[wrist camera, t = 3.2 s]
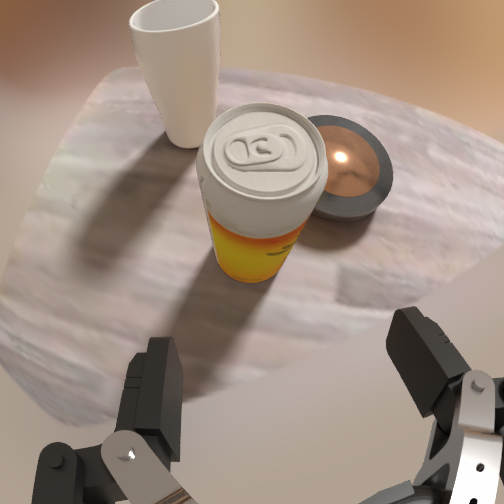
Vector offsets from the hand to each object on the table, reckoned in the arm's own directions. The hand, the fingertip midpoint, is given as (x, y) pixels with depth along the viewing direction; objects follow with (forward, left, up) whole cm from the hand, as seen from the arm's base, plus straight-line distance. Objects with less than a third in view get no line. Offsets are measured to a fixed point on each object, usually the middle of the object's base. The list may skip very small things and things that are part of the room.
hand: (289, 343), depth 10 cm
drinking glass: (+5, -22, -15) cm, 27 cm away
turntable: (-9, -15, -15) cm, 23 cm away
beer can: (0, -8, -15) cm, 17 cm away
